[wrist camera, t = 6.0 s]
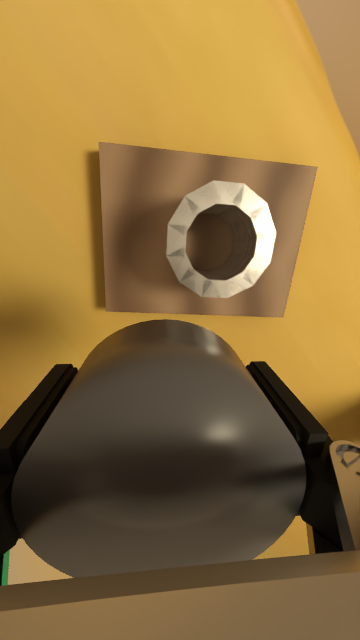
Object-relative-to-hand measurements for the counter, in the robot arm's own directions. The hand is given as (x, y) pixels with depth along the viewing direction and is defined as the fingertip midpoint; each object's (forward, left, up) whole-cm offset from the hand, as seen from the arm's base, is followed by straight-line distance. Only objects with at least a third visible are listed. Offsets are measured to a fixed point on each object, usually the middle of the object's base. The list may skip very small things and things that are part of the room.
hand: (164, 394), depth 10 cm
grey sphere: (0, 0, -3) cm, 3 cm away
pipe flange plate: (-4, -6, -17) cm, 19 cm away
